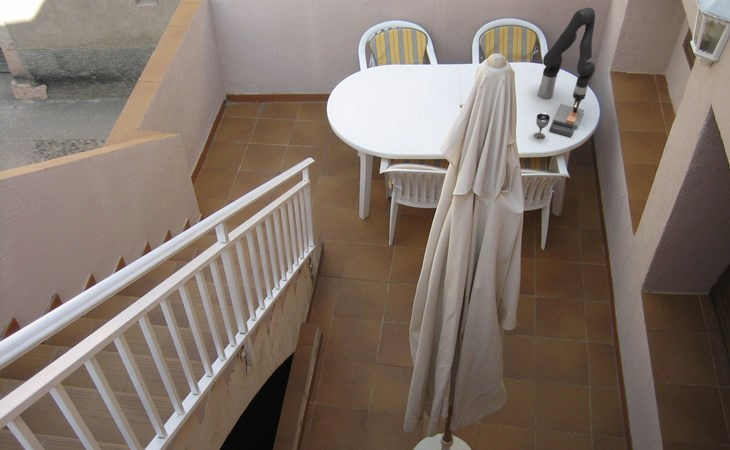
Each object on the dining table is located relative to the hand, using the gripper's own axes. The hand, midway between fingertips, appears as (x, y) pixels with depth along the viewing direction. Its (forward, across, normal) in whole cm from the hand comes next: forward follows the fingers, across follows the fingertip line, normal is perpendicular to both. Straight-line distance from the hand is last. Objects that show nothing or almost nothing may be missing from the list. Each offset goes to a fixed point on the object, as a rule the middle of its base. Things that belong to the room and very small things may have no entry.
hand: (574, 113), depth 448 cm
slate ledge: (+4, +2, -3) cm, 5 cm away
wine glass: (+4, +28, -16) cm, 32 cm away
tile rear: (+1, +4, 0) cm, 4 cm away
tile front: (+1, +9, 0) cm, 9 cm away
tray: (+4, +16, -4) cm, 17 cm away
